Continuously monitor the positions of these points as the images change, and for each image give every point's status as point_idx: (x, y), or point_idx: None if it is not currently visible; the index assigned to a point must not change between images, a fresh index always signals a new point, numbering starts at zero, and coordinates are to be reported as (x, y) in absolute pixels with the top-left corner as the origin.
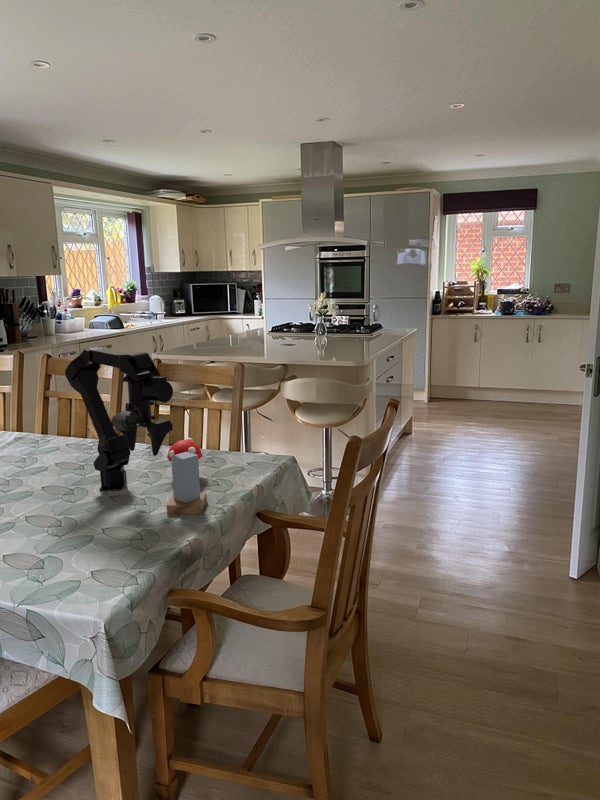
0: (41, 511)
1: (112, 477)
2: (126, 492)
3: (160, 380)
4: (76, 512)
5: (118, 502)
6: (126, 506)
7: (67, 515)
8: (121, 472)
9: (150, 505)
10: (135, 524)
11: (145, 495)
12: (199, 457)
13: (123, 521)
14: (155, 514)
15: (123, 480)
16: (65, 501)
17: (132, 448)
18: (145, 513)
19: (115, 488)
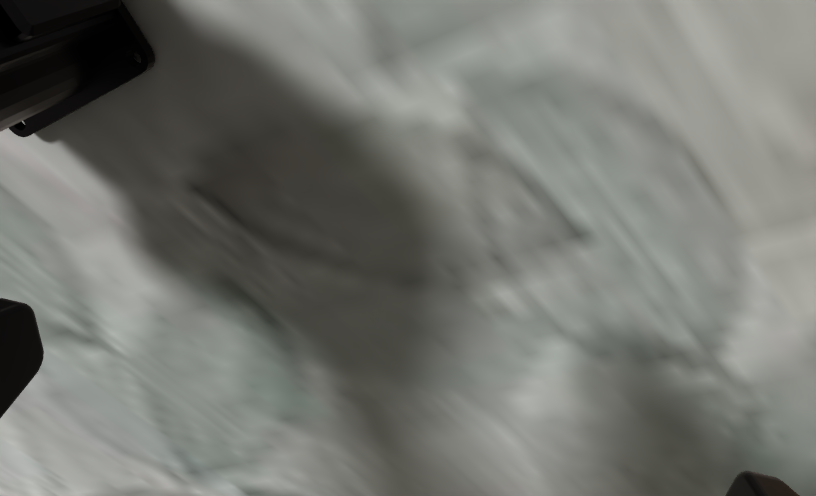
0: (82, 462)
1: (14, 115)
2: (231, 72)
3: None
4: (243, 441)
5: (344, 266)
6: (456, 307)
7: (238, 476)
8: (4, 40)
9: (634, 243)
10: None
11: (442, 67)
12: None
13: (604, 486)
14: (777, 368)
15: (83, 16)
16: (42, 341)
17: (7, 369)
18: (683, 370)
19: (105, 75)
